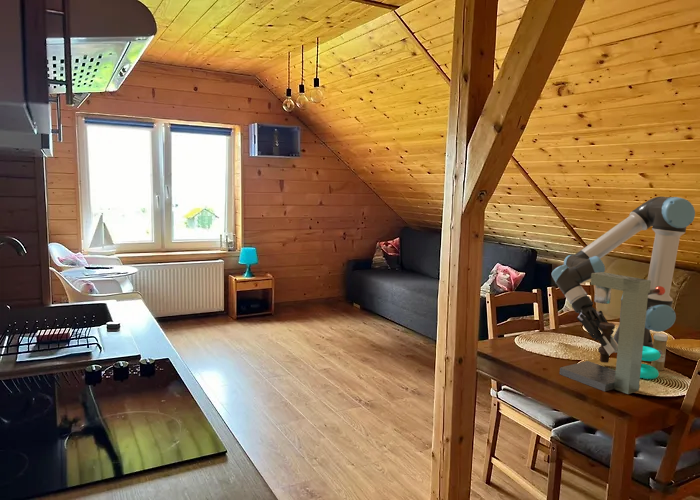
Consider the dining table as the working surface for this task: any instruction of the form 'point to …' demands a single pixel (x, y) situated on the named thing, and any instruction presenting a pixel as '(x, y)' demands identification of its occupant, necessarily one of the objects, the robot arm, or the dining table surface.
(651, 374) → the donuts
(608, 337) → the bolt
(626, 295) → the press
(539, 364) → the dining table surface
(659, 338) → the sprinkles bottle
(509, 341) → the dining table surface
